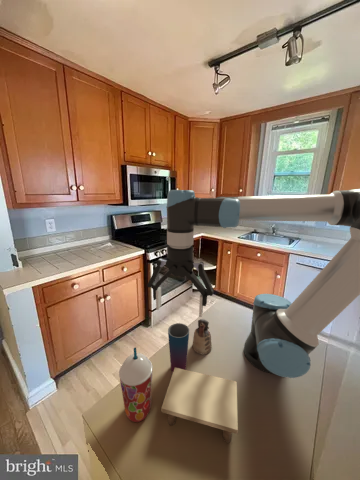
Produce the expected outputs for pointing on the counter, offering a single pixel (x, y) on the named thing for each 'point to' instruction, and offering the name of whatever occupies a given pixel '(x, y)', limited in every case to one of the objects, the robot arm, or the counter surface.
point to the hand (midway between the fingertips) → (179, 310)
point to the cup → (178, 345)
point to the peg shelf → (202, 401)
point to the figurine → (202, 338)
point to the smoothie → (136, 386)
